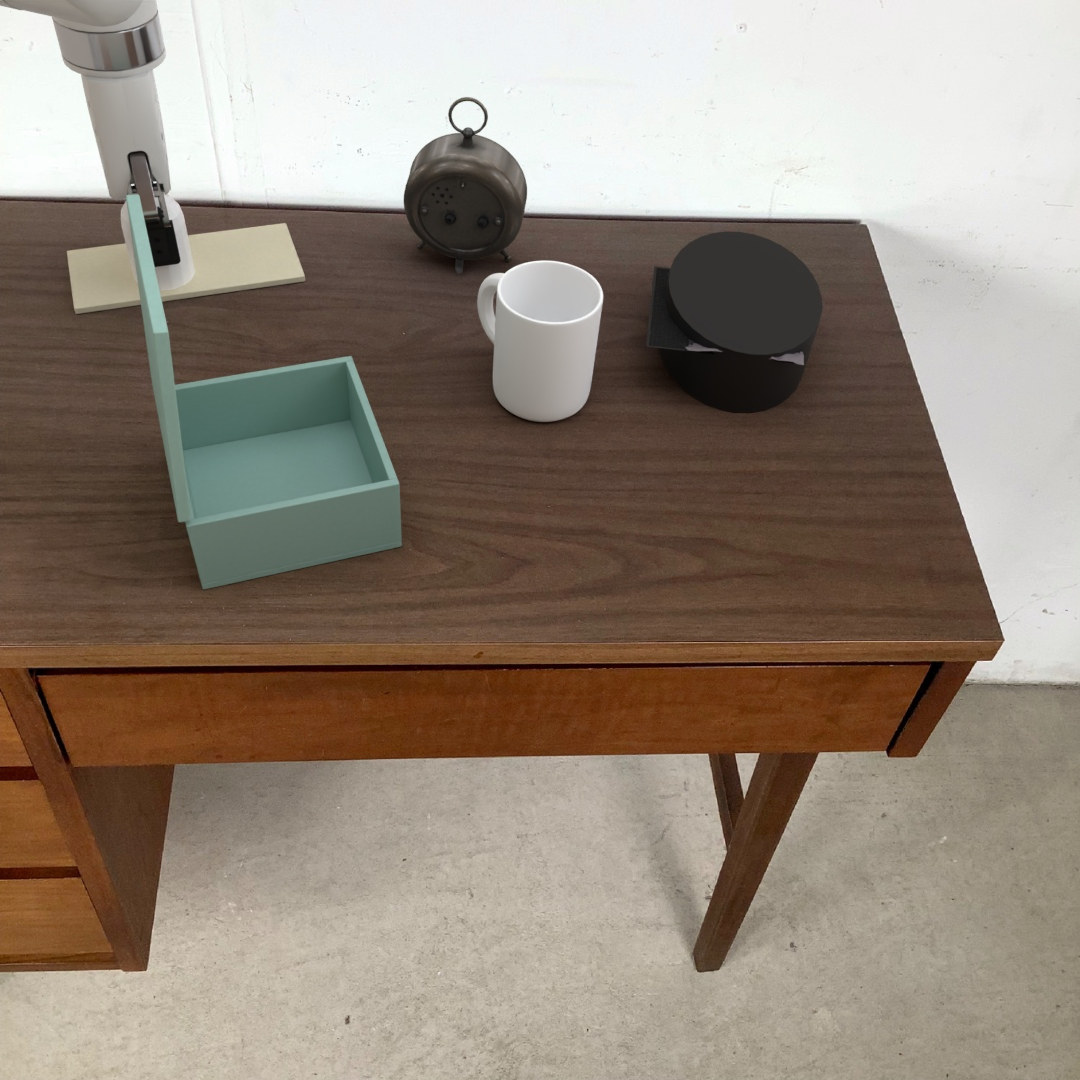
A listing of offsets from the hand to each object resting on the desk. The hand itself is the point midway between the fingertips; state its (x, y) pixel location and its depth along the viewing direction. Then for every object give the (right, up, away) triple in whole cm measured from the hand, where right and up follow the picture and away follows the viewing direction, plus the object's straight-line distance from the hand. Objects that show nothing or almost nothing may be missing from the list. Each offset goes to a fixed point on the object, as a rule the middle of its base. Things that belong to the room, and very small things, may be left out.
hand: (157, 243), depth 94 cm
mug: (+32, -13, -3) cm, 35 cm away
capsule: (0, -2, +2) cm, 3 cm away
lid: (+10, -15, -26) cm, 32 cm away
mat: (+1, -1, +4) cm, 4 cm away
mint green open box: (+15, -23, -14) cm, 31 cm away
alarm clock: (+26, 0, +8) cm, 28 cm away
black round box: (+50, -9, +2) cm, 51 cm away
